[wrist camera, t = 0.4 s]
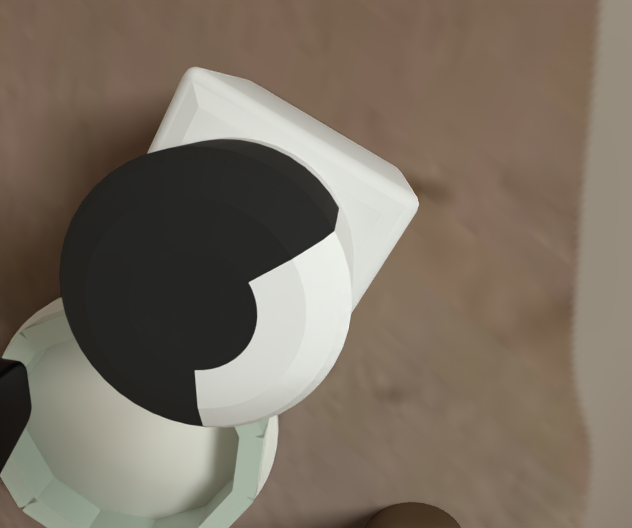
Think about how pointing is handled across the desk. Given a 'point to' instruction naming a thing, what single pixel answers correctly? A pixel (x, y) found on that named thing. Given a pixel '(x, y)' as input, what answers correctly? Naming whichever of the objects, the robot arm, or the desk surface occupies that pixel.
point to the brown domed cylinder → (412, 517)
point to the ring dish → (121, 448)
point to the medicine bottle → (228, 255)
